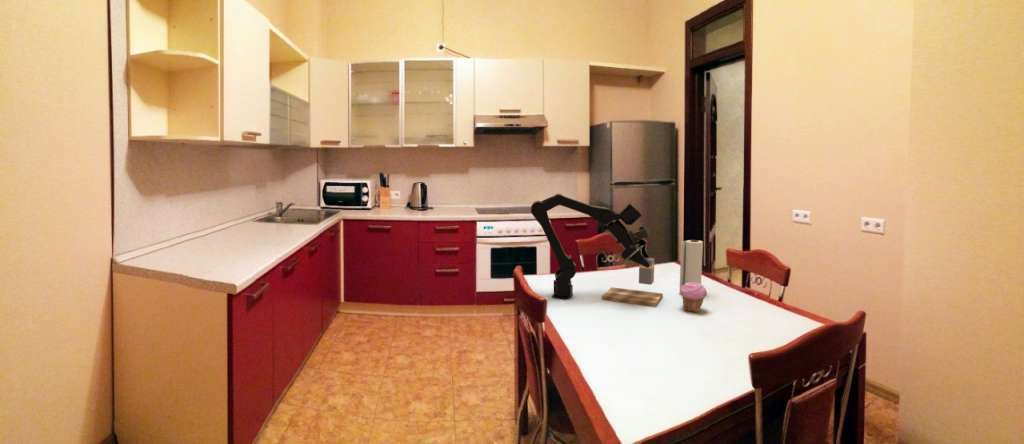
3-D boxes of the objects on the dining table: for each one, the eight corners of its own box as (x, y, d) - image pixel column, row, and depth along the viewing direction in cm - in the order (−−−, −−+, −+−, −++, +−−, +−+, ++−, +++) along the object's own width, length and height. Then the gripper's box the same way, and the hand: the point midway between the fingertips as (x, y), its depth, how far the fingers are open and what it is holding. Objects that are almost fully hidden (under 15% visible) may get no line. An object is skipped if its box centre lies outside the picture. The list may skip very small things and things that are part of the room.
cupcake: (674, 310, 160) (676, 282, 159) (685, 304, 166) (686, 277, 165) (700, 316, 154) (701, 287, 153) (710, 309, 160) (711, 282, 159)
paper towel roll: (702, 294, 179) (704, 240, 176) (698, 298, 174) (701, 242, 171) (682, 291, 183) (684, 238, 180) (679, 295, 178) (681, 241, 175)
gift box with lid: (638, 283, 170) (639, 259, 168) (641, 280, 174) (642, 257, 172) (651, 284, 167) (651, 260, 166) (653, 281, 171) (654, 258, 170)
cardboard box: (601, 299, 173) (601, 295, 173) (611, 290, 184) (611, 287, 184) (655, 307, 164) (656, 303, 163) (662, 297, 175) (662, 293, 175)
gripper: (630, 223, 161) (662, 256, 157) (642, 217, 177) (671, 247, 174) (608, 243, 166) (638, 276, 162) (622, 235, 182) (649, 265, 178)
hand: (650, 265), depth 169 cm, fingers closed on gift box with lid, 5 cm apart
